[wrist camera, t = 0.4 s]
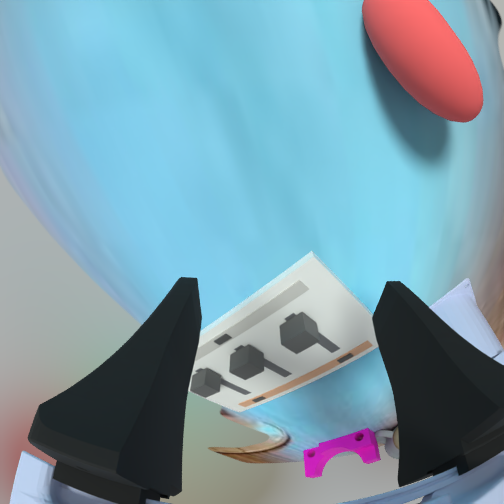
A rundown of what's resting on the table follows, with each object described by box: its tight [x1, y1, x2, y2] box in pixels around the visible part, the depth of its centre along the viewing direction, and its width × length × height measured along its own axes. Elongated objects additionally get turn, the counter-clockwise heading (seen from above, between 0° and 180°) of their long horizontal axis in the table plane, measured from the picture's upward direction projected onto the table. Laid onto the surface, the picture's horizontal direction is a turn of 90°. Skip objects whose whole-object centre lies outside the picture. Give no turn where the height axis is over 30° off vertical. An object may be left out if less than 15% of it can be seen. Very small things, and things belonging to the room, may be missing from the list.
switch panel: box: [188, 251, 379, 412], centre depth 27 cm, size 14×22×2 cm, turn 134°
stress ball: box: [362, 0, 483, 122], centre depth 10 cm, size 5×9×6 cm, turn 25°
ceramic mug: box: [375, 426, 399, 459], centre depth 42 cm, size 11×8×8 cm
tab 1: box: [190, 368, 221, 398], centre depth 27 cm, size 2×2×2 cm
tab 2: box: [229, 344, 264, 380], centre depth 25 cm, size 2×2×2 cm
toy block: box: [304, 428, 381, 478], centre depth 44 cm, size 15×6×8 cm, turn 125°
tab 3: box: [279, 312, 320, 354], centre depth 22 cm, size 2×2×2 cm
